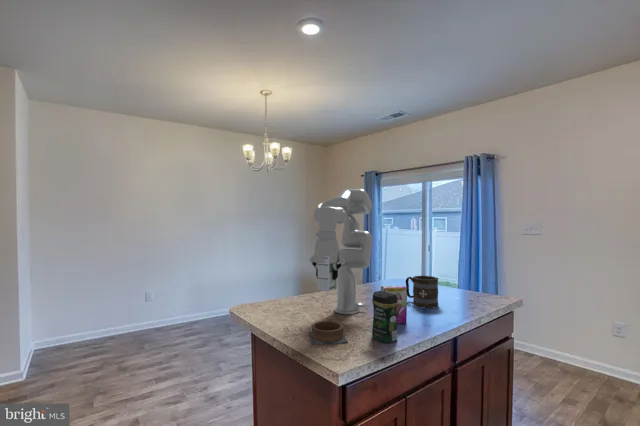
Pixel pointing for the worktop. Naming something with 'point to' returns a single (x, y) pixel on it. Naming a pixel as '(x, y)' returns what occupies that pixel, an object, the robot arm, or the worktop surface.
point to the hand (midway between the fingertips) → (326, 278)
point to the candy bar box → (399, 301)
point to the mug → (424, 291)
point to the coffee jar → (384, 316)
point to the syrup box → (326, 276)
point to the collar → (327, 333)
